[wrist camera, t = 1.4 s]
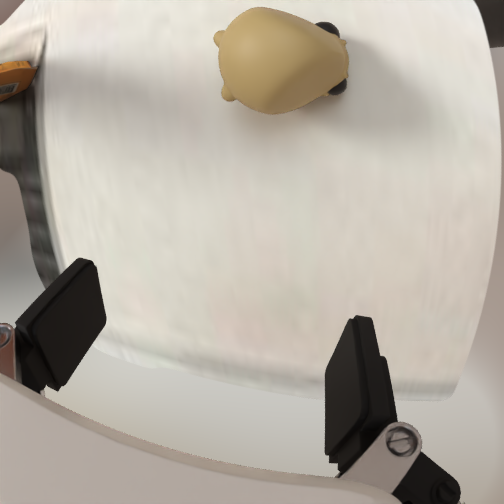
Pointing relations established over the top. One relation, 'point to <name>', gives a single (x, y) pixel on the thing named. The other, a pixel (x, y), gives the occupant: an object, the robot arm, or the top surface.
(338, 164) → the top surface
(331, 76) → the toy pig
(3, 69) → the pancake mix bag
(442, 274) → the top surface
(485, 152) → the top surface
